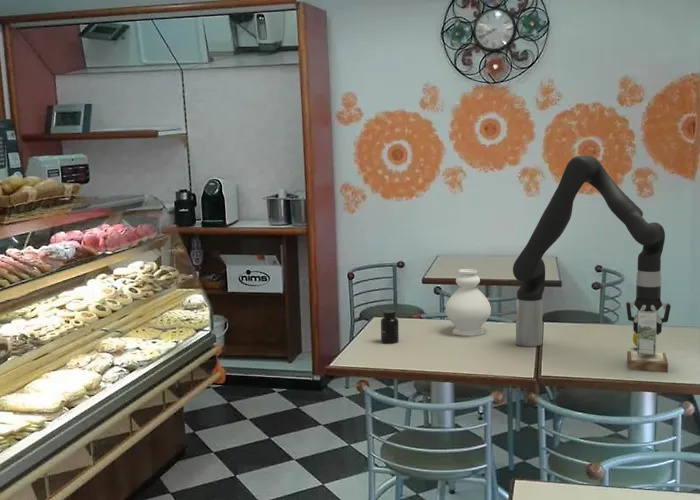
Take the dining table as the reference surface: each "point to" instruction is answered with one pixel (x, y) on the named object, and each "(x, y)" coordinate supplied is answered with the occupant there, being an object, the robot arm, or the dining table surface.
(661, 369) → the plinth
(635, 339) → the lemon
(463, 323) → the decorative vase
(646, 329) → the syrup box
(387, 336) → the supplement bottle
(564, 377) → the dining table surface
